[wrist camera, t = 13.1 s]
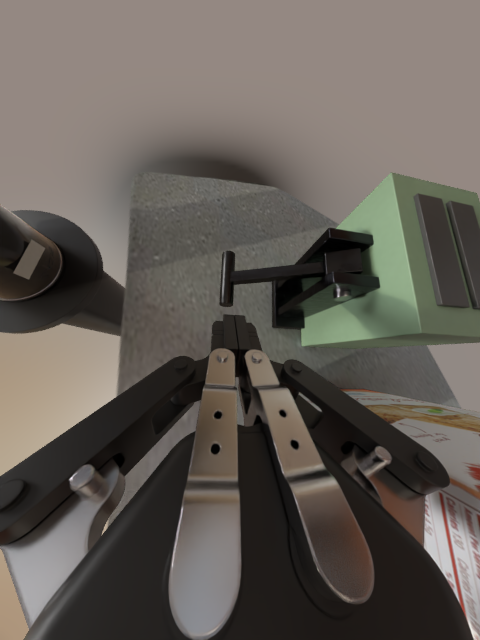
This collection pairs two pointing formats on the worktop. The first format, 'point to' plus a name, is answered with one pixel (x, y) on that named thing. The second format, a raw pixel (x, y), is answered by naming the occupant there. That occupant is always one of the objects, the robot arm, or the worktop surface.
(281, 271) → the toaster lever
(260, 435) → the robot arm
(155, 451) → the worktop surface
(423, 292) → the toaster
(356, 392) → the cracker box
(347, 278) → the lever bracket
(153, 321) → the worktop surface
